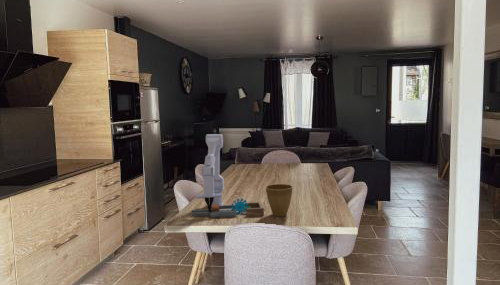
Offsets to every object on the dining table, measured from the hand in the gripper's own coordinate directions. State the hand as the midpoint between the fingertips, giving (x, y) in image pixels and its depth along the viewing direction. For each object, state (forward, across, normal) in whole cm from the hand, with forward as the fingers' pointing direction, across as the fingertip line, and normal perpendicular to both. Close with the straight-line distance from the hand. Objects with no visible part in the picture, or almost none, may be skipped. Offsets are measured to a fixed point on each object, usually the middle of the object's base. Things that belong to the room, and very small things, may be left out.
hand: (209, 210), depth 213 cm
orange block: (+2, +7, 0) cm, 7 cm away
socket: (+2, +2, 0) cm, 3 cm away
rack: (+2, +25, 0) cm, 25 cm away
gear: (+2, +18, 0) cm, 18 cm away
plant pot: (+2, +39, -7) cm, 39 cm away
